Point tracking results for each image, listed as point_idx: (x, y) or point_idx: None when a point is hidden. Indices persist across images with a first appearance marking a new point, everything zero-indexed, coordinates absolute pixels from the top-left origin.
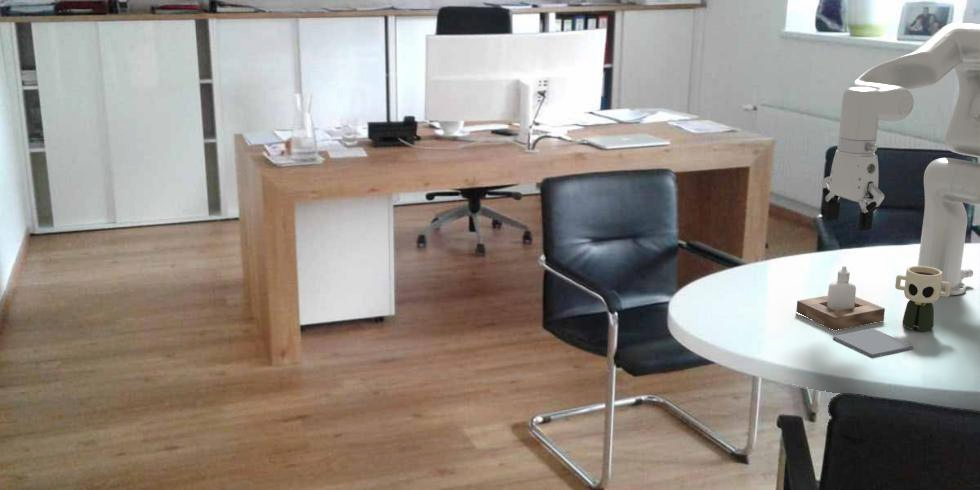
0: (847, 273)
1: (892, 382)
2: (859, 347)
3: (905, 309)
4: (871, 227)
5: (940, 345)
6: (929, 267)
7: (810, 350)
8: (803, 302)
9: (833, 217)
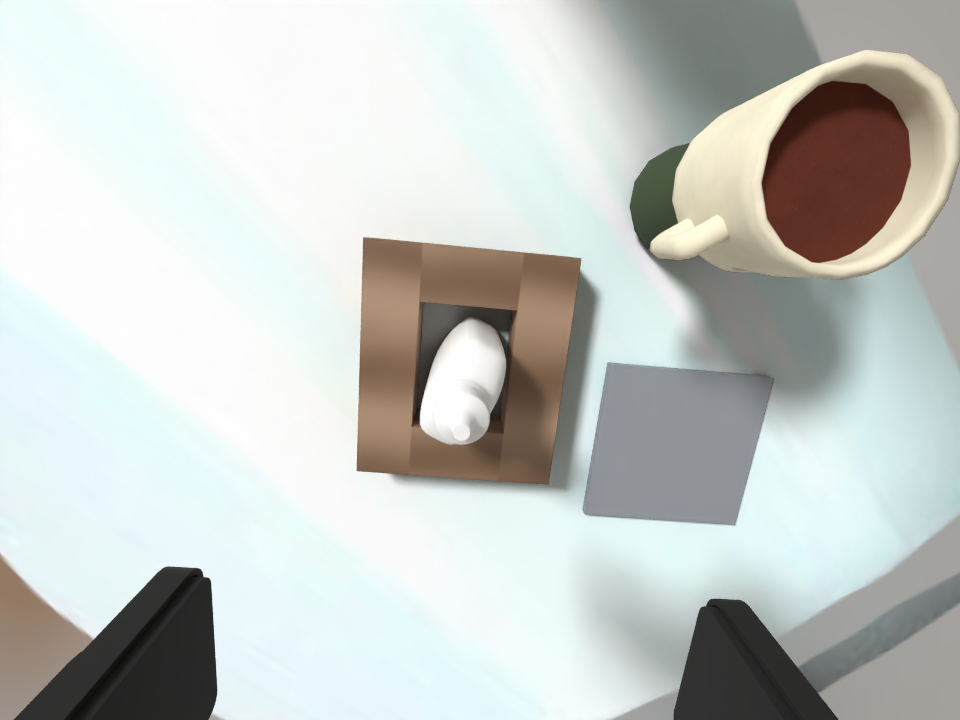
0: (488, 423)
1: (848, 591)
2: (683, 516)
3: (658, 225)
4: (750, 610)
5: (808, 278)
6: (843, 70)
7: (602, 610)
8: (380, 464)
9: (202, 662)
